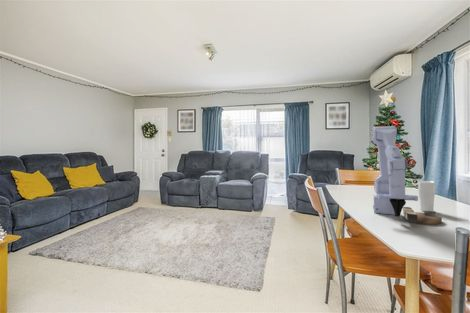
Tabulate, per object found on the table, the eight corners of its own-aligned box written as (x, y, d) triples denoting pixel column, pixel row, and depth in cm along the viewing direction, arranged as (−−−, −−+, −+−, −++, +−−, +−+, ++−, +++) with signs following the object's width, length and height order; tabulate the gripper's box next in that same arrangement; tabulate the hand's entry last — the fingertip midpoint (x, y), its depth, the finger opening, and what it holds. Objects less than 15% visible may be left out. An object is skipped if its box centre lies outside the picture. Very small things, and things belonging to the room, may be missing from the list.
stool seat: (407, 222, 103) (407, 213, 103) (402, 215, 114) (402, 206, 114) (445, 226, 97) (445, 217, 97) (437, 218, 108) (437, 209, 108)
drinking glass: (436, 213, 115) (436, 183, 115) (419, 211, 119) (419, 182, 118) (433, 210, 121) (433, 181, 120) (417, 208, 125) (417, 180, 124)
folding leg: (402, 213, 110) (402, 206, 110) (411, 214, 109) (411, 207, 109) (407, 222, 98) (407, 214, 98) (417, 223, 96) (417, 215, 96)
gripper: (379, 186, 102) (380, 217, 102) (420, 187, 96) (420, 220, 97) (376, 183, 108) (377, 213, 109) (414, 184, 103) (414, 215, 103)
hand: (397, 216), depth 103 cm, fingers closed
